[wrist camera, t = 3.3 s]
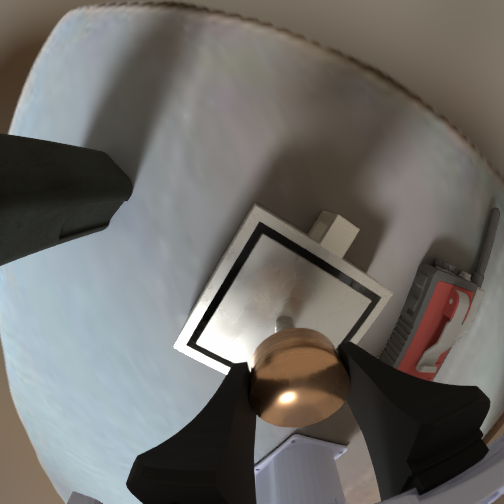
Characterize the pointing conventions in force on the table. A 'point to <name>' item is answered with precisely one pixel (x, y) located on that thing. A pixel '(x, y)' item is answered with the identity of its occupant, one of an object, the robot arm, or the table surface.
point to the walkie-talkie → (437, 313)
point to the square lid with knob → (286, 333)
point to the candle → (54, 194)
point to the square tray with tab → (317, 242)
